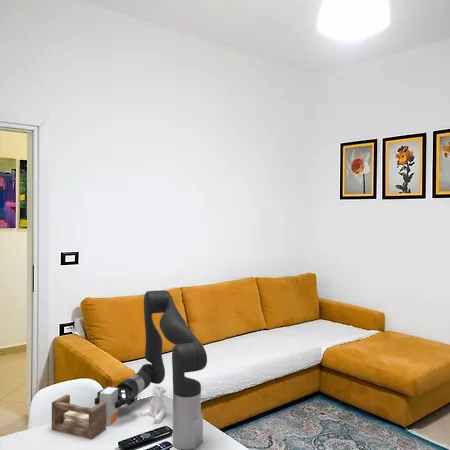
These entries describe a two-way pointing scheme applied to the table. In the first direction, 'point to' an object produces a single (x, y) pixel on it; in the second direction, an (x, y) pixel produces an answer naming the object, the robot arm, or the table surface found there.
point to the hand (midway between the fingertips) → (105, 404)
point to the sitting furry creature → (156, 405)
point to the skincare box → (110, 404)
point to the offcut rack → (95, 414)
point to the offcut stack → (76, 419)
